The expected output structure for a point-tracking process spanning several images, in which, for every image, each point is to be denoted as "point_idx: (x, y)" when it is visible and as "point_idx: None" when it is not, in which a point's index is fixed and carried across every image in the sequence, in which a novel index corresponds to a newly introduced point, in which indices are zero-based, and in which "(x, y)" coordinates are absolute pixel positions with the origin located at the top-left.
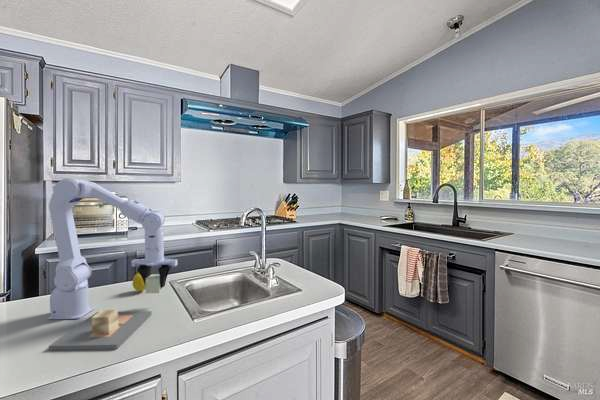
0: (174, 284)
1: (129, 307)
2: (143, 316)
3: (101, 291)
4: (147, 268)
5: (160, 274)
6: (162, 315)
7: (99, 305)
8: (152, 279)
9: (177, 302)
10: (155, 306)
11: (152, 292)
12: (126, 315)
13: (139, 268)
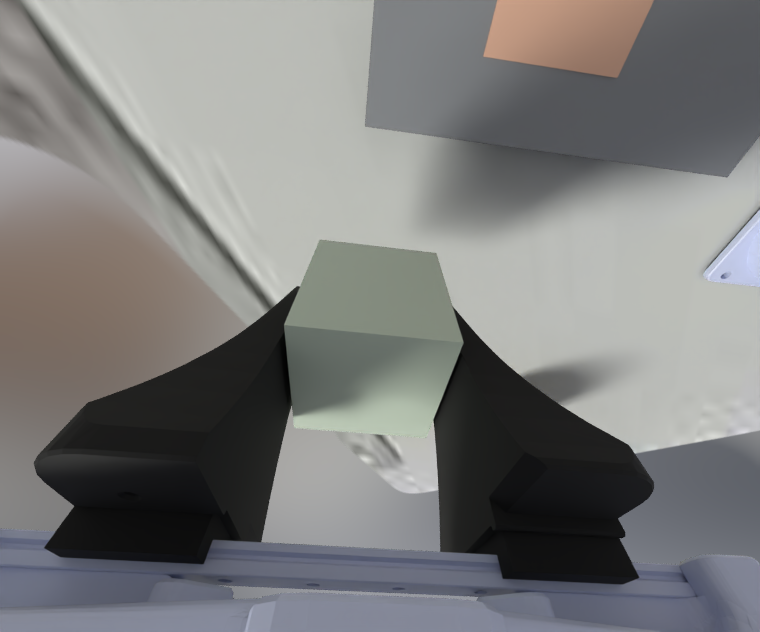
0: (372, 441)
1: (524, 258)
2: (394, 10)
3: (649, 421)
4: (473, 502)
5: (245, 371)
6: (284, 98)
7: (674, 303)
8: (372, 326)
9: (278, 283)
10: None
11: (378, 250)
12: (535, 58)
13: (611, 504)
